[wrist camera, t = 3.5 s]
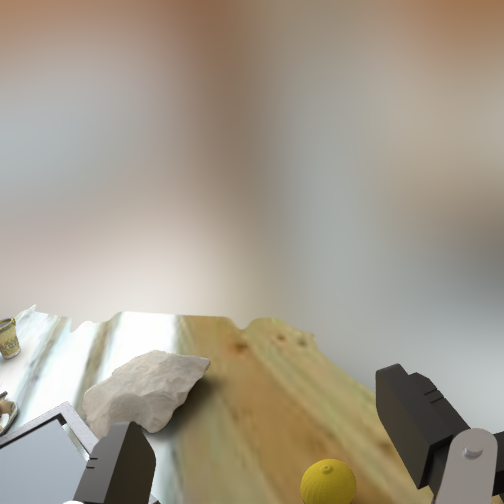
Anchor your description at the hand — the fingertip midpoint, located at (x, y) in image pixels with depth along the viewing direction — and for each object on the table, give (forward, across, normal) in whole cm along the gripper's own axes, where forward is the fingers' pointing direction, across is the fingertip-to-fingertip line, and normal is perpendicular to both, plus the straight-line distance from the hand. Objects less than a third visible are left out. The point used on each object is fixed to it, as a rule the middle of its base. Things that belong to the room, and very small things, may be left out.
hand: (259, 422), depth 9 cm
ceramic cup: (+64, -78, -25) cm, 103 cm away
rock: (+35, -22, -26) cm, 49 cm away
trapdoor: (+4, -22, -12) cm, 25 cm away
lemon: (+10, +3, -26) cm, 28 cm away
